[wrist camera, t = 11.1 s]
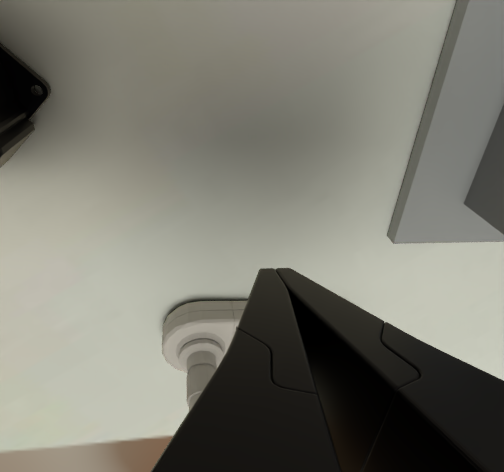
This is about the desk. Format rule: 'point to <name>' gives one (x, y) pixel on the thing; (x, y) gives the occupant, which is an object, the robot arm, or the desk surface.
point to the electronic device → (200, 340)
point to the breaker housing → (459, 138)
